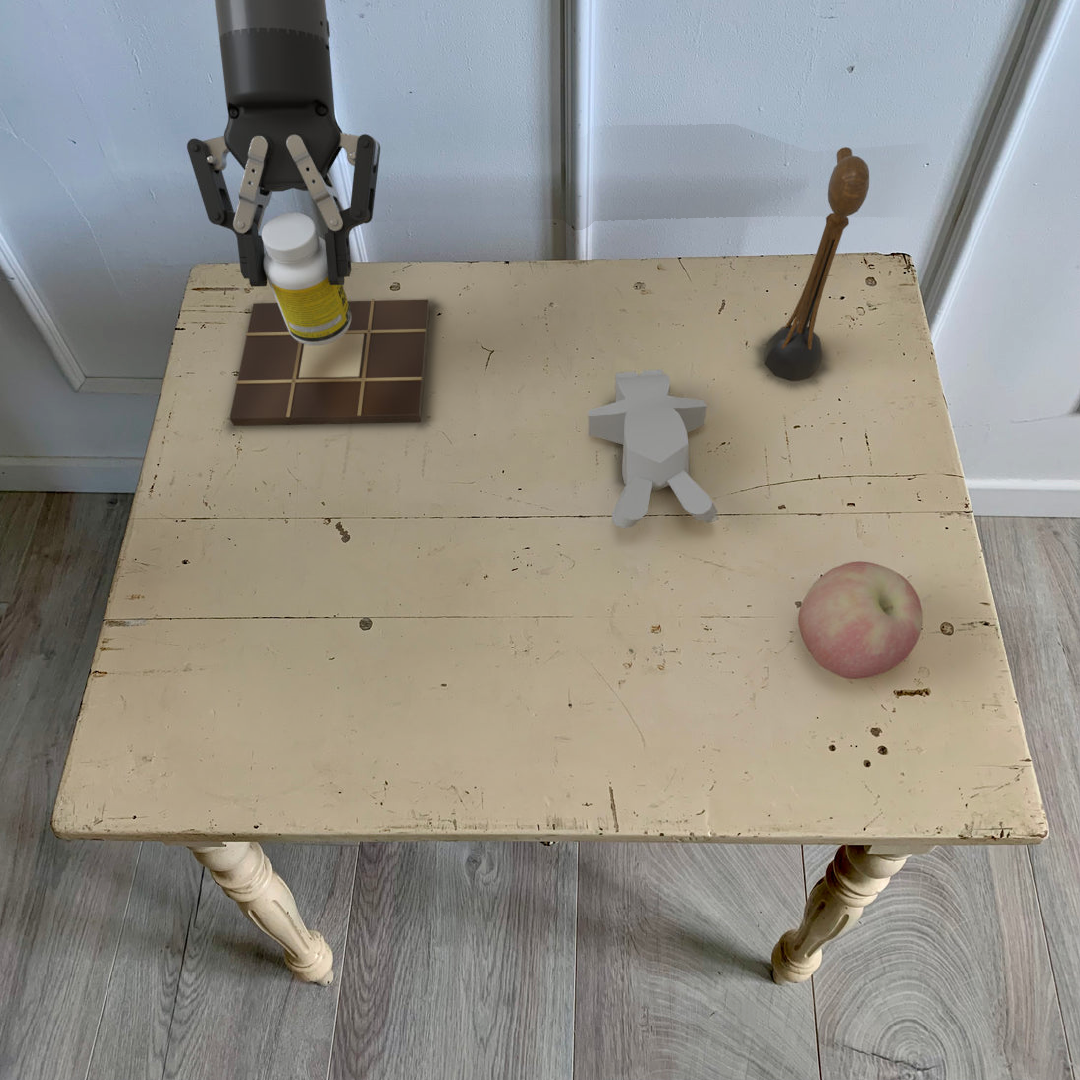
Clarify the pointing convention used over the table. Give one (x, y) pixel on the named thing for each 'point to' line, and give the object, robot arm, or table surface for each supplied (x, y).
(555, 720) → the table surface
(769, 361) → the wooden tabletop sculpture
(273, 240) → the supplement bottle
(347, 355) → the board
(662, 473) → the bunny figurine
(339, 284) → the robot arm
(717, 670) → the table surface
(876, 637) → the apple
